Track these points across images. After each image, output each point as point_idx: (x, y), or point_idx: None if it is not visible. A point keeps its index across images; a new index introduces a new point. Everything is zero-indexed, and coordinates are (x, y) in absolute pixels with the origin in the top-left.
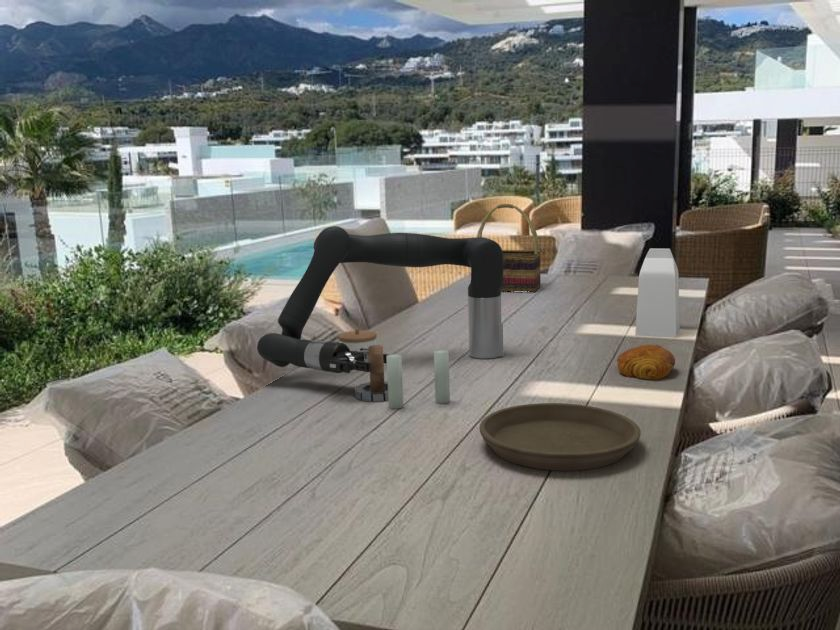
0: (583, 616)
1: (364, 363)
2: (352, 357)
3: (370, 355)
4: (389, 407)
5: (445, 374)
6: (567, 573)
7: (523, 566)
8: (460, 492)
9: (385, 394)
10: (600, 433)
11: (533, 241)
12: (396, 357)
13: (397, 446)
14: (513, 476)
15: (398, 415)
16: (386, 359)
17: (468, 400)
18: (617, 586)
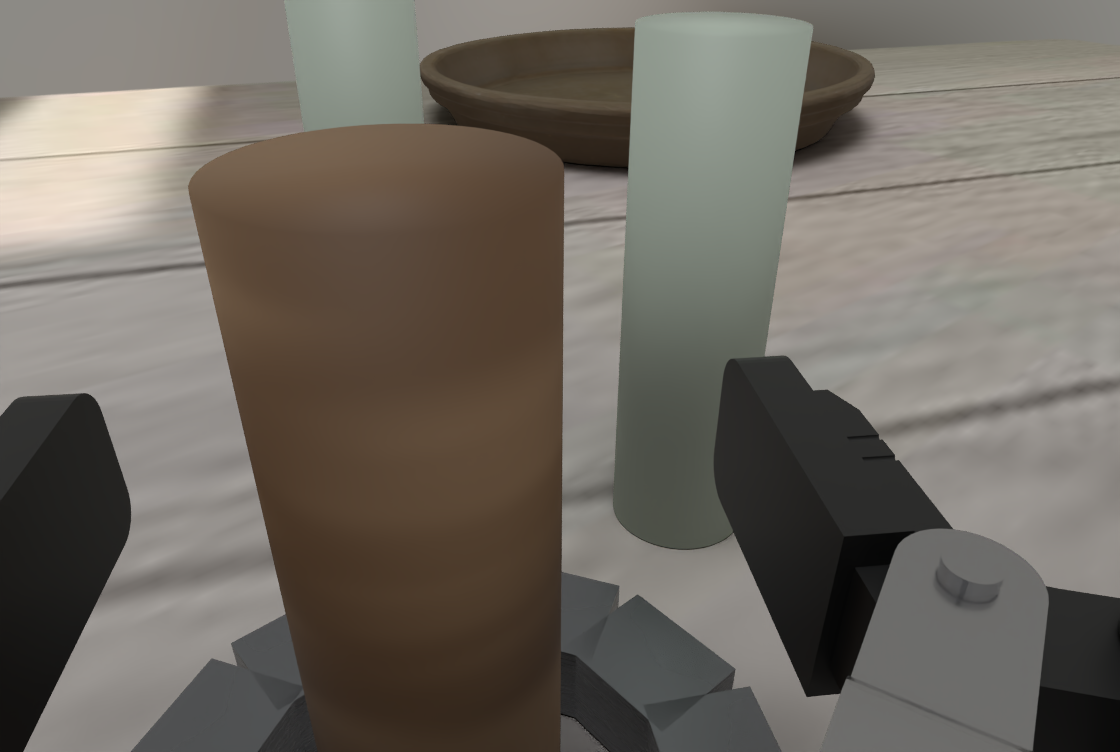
0: (1106, 45)
1: (820, 415)
2: (904, 704)
3: (562, 353)
4: None
5: None
6: (1060, 56)
7: (1112, 68)
8: (1064, 128)
9: (615, 590)
10: (516, 92)
11: None
12: (746, 14)
13: (1081, 261)
14: (885, 115)
15: None
16: (85, 508)
17: None
18: (1019, 45)
